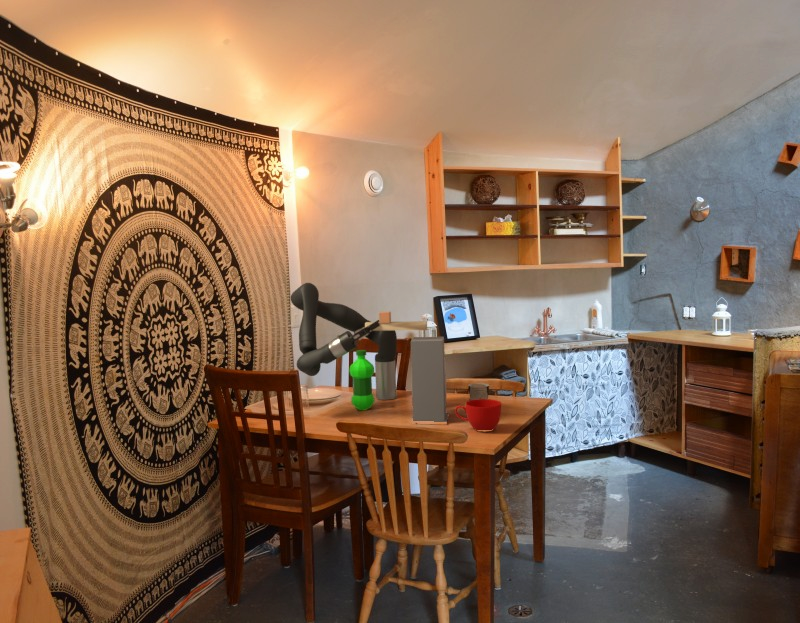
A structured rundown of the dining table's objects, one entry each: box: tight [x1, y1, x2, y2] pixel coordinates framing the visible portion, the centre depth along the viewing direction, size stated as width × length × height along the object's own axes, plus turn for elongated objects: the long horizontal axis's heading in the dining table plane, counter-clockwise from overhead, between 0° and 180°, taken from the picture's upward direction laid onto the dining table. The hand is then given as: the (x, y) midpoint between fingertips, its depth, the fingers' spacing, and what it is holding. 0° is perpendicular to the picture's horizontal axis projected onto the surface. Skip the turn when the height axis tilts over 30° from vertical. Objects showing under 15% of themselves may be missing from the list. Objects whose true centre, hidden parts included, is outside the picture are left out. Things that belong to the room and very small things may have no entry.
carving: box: [468, 384, 489, 401], centre depth 251 cm, size 6×8×12 cm
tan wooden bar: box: [365, 320, 428, 331], centre depth 244 cm, size 4×24×3 cm, turn 83°
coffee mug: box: [467, 382, 490, 396], centre depth 262 cm, size 12×9×10 cm
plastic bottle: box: [349, 349, 375, 411], centre depth 266 cm, size 10×10×25 cm
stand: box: [410, 336, 450, 423], centre depth 244 cm, size 14×14×32 cm
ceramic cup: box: [454, 398, 502, 430], centre depth 229 cm, size 13×17×10 cm
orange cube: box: [378, 311, 392, 323], centre depth 244 cm, size 4×4×4 cm
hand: (379, 322), depth 245 cm, fingers closed on tan wooden bar, 3 cm apart
